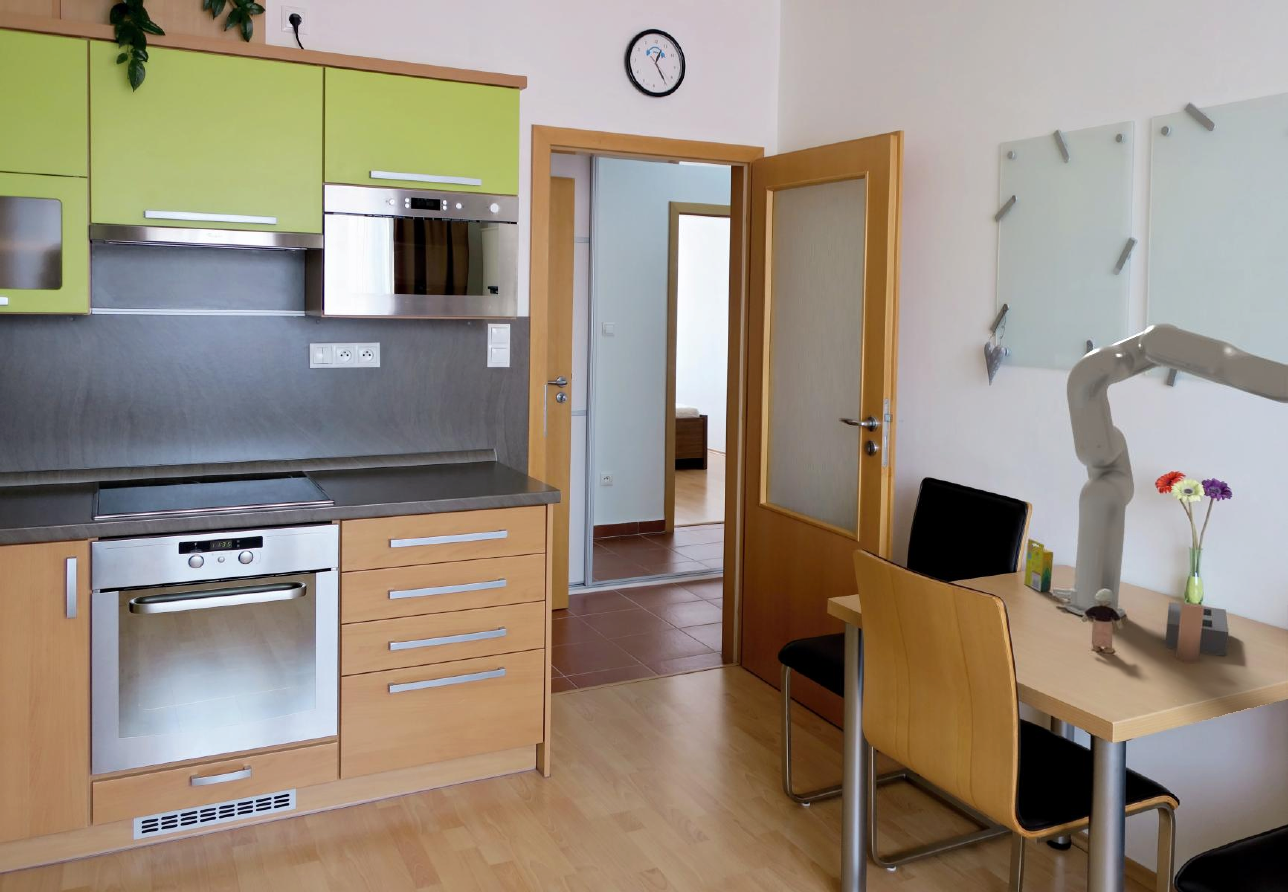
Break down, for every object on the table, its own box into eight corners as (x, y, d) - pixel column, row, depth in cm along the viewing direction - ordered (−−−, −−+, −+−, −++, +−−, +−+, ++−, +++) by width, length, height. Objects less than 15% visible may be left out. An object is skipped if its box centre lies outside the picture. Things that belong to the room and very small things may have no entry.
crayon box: (1050, 591, 263) (1054, 544, 262) (1039, 592, 263) (1043, 545, 261) (1034, 583, 270) (1038, 537, 269) (1023, 583, 270) (1027, 538, 268)
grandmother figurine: (1119, 649, 222) (1124, 588, 220) (1120, 655, 218) (1126, 593, 216) (1078, 644, 224) (1083, 584, 222) (1079, 649, 220) (1084, 589, 219)
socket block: (1165, 646, 224) (1167, 623, 223) (1166, 623, 240) (1169, 601, 239) (1225, 656, 219) (1228, 632, 218) (1223, 631, 235) (1225, 609, 234)
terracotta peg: (1175, 660, 216) (1181, 606, 214) (1176, 654, 219) (1181, 601, 218) (1198, 663, 214) (1204, 609, 212) (1198, 657, 218) (1203, 604, 216)
